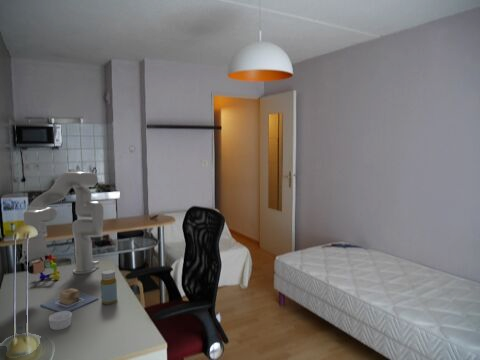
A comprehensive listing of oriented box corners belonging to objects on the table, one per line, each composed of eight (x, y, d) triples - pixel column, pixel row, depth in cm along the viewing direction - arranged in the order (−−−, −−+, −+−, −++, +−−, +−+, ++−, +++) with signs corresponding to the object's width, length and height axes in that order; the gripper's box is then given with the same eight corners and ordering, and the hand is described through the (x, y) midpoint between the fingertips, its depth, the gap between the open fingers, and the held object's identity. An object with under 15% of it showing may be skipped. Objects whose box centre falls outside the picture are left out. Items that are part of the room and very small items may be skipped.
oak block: (71, 297, 177) (71, 288, 176) (79, 300, 174) (78, 290, 173) (60, 302, 172) (59, 292, 171) (67, 305, 169) (67, 294, 168)
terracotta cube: (38, 269, 180) (38, 259, 179) (44, 271, 178) (44, 261, 177) (28, 272, 176) (28, 262, 175) (34, 274, 173) (34, 264, 173)
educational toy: (33, 280, 206) (31, 254, 205) (58, 275, 213) (56, 250, 213) (38, 285, 193) (36, 257, 193) (64, 280, 201) (62, 253, 201)
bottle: (112, 305, 169) (110, 274, 168) (98, 304, 171) (97, 273, 169) (119, 299, 176) (118, 269, 175) (106, 298, 178) (105, 268, 176)
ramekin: (75, 325, 151) (75, 315, 150) (53, 333, 144) (52, 323, 144) (68, 318, 157) (67, 309, 156) (46, 325, 151) (45, 315, 150)
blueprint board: (74, 292, 185) (74, 290, 185) (97, 299, 176) (97, 297, 176) (40, 305, 169) (40, 304, 169) (64, 314, 161) (64, 312, 160)
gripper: (46, 230, 184) (48, 264, 186) (11, 238, 169) (14, 275, 171) (55, 232, 180) (57, 267, 182) (20, 240, 165) (23, 278, 167)
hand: (36, 270), depth 177 cm, fingers closed on terracotta cube, 5 cm apart
